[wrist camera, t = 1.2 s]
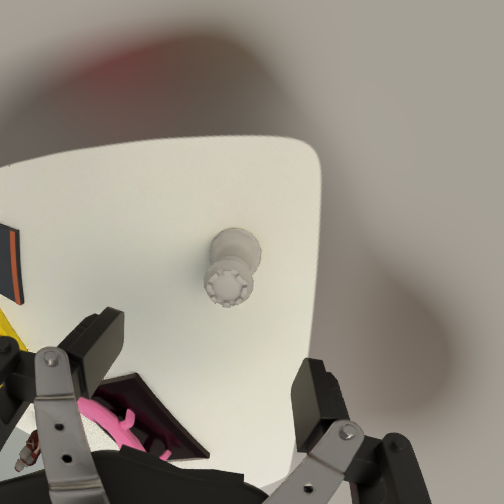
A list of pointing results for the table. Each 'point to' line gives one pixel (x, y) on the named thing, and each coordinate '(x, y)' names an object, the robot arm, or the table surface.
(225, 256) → the rook chess piece
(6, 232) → the mat
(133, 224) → the table surface
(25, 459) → the figurine
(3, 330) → the crank
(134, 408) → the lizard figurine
